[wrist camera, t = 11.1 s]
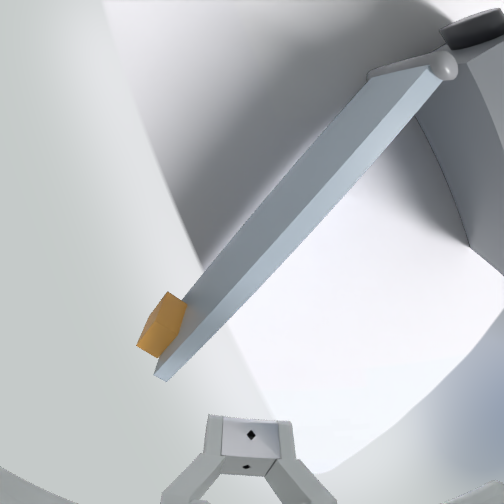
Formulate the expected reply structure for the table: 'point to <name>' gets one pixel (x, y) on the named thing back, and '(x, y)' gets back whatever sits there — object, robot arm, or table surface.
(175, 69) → the table surface
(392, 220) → the table surface
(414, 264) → the table surface
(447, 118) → the camera case
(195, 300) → the side door
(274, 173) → the table surface
